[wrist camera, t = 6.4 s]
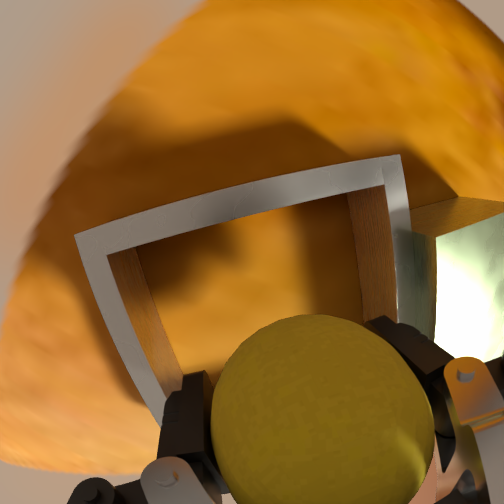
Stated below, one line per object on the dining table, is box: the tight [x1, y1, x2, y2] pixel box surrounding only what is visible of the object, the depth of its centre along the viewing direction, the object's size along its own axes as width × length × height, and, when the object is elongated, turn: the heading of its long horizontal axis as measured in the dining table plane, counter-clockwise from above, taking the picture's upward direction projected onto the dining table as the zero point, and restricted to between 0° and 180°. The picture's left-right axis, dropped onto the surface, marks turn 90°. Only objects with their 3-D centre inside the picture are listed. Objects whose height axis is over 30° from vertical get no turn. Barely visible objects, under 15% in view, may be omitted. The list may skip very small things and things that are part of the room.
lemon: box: [210, 314, 435, 504], centre depth 7 cm, size 6×6×8 cm
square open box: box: [74, 154, 504, 428], centre depth 12 cm, size 19×12×5 cm, turn 103°
